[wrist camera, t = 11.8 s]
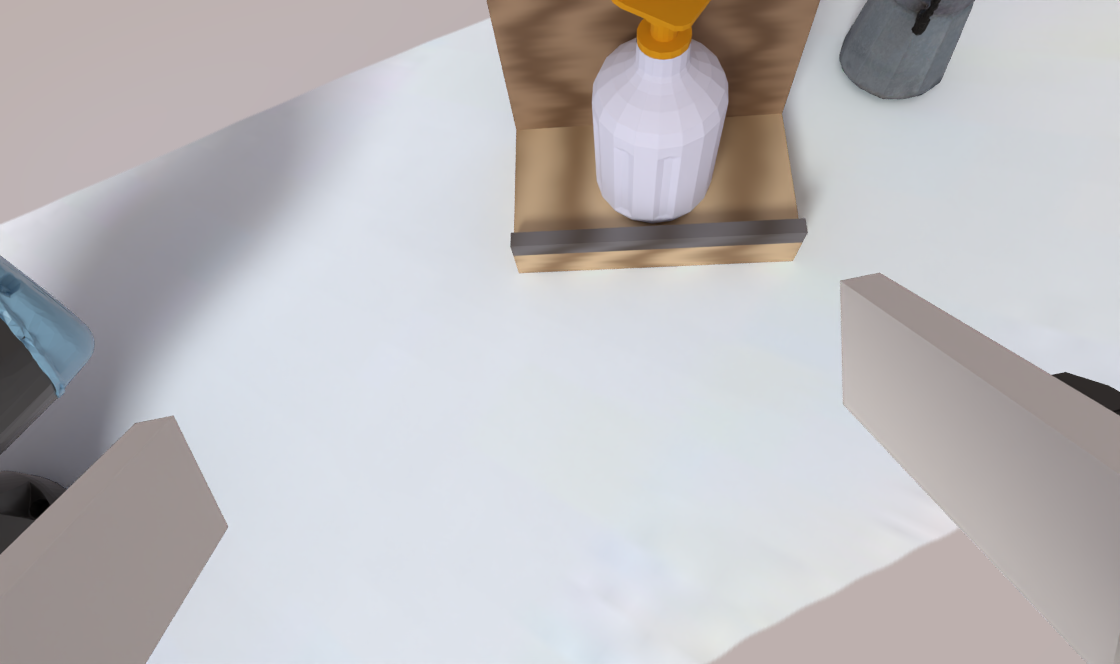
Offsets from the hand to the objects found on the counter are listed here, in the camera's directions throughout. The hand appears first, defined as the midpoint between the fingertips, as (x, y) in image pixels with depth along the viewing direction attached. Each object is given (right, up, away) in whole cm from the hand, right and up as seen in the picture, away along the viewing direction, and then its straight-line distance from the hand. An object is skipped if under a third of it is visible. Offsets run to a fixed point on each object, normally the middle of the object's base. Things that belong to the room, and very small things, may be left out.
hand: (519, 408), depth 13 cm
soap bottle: (+8, +14, +40) cm, 43 cm away
